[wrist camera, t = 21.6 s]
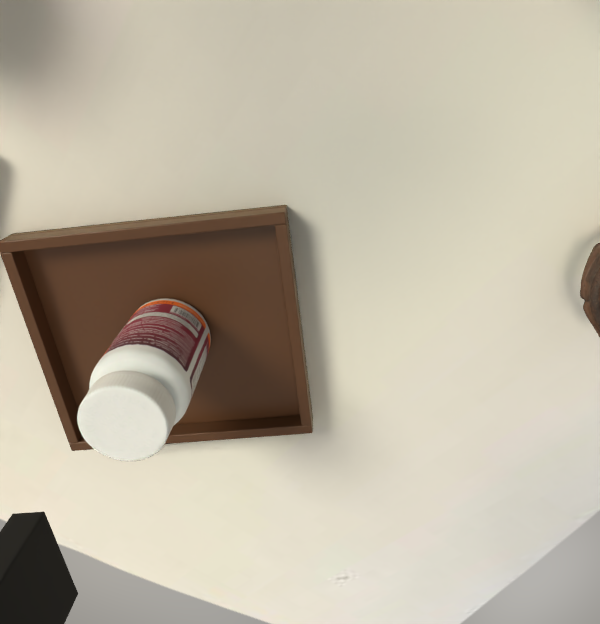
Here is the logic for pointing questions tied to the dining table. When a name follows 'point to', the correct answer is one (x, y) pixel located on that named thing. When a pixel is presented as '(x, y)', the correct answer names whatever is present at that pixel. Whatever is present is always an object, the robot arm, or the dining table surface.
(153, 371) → the pill bottle
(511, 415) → the dining table surface
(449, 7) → the dining table surface
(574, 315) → the dining table surface
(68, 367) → the tray
